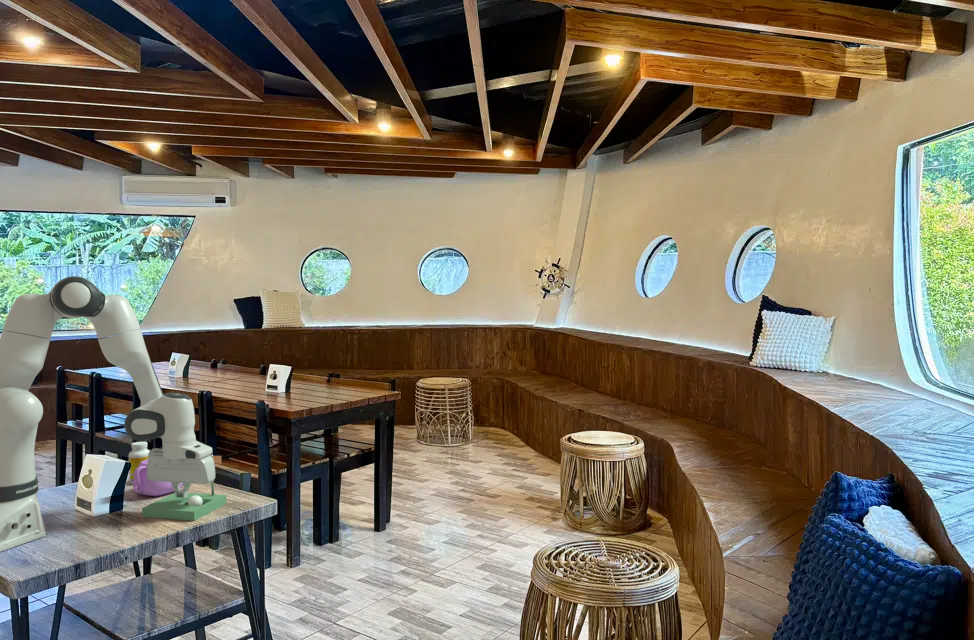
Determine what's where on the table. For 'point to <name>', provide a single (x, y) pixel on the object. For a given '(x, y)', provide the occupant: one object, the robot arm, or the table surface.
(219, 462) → the flag pin
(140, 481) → the teapot
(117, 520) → the table surface
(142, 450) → the supplement bottle
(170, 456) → the robot arm
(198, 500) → the ball
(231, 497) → the table surface
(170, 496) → the mat
